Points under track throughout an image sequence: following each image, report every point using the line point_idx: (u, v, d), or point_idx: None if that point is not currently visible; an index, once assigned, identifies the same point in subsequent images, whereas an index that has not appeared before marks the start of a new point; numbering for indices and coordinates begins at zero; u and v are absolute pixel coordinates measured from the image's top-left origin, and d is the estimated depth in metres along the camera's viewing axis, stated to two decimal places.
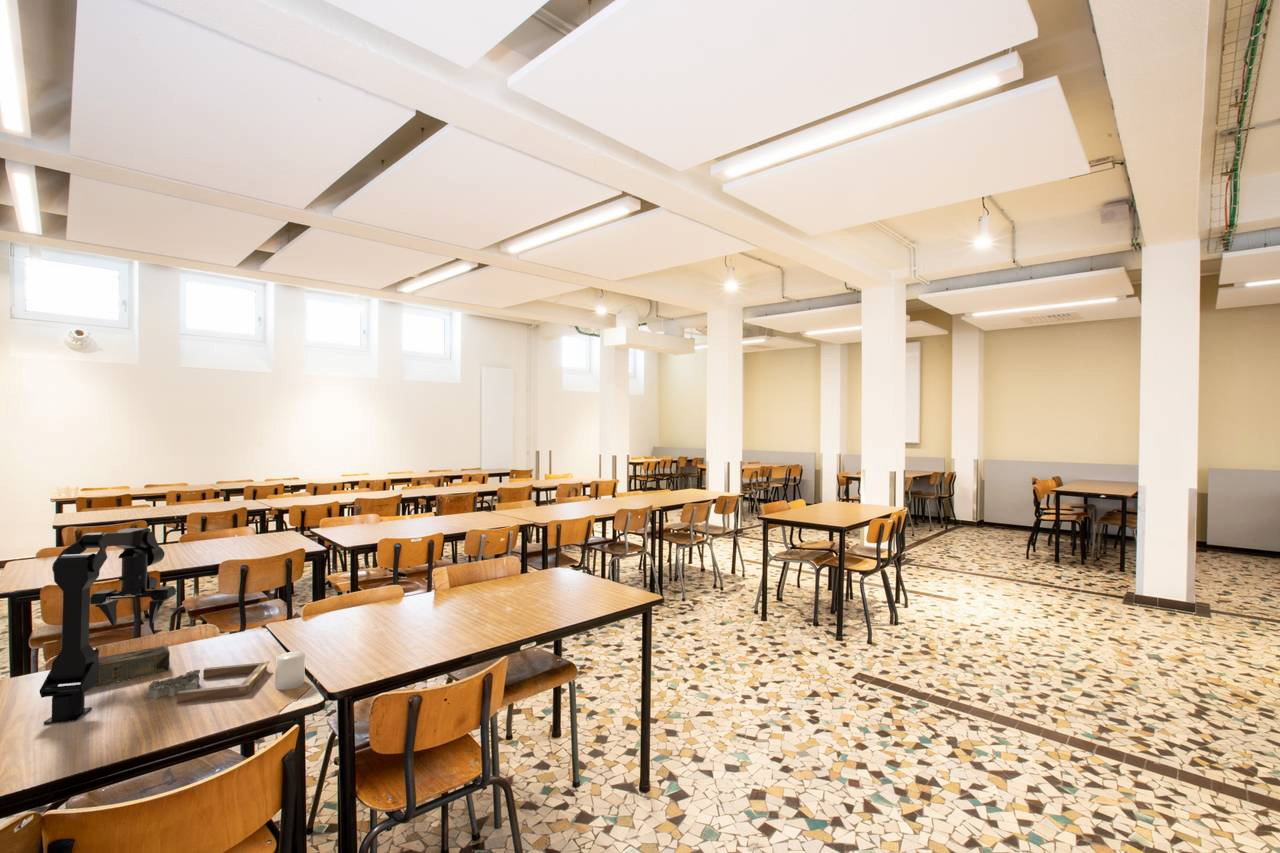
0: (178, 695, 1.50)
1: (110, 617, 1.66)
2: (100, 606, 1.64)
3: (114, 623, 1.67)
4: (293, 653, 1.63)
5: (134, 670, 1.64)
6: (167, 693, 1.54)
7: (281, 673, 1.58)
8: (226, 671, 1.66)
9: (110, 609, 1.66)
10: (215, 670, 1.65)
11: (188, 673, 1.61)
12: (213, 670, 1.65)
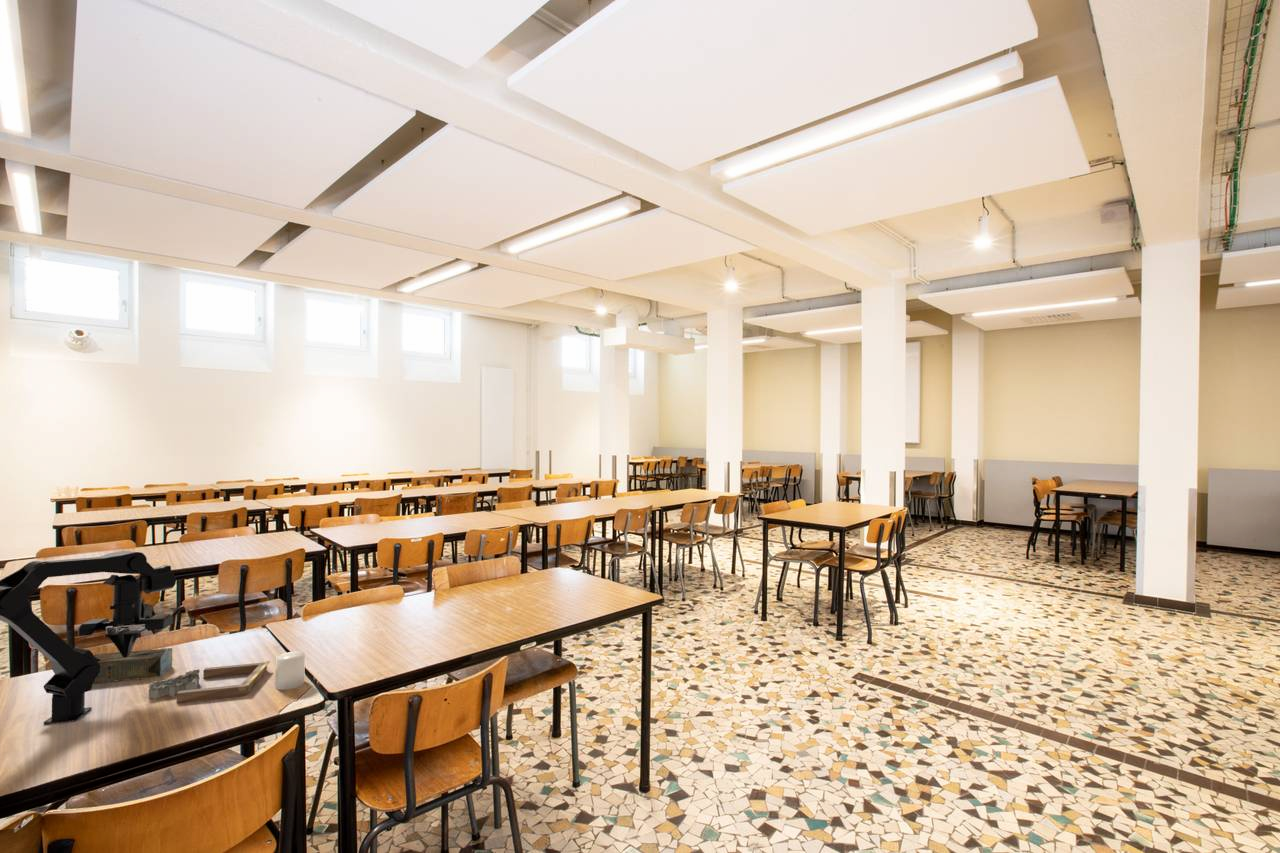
0: (178, 695, 1.50)
1: (121, 648, 1.52)
2: (110, 636, 1.50)
3: None
4: (293, 653, 1.63)
5: (126, 671, 1.63)
6: (167, 693, 1.54)
7: (281, 673, 1.58)
8: (226, 671, 1.66)
9: (121, 639, 1.52)
10: (215, 670, 1.65)
11: (188, 673, 1.61)
12: (213, 670, 1.65)
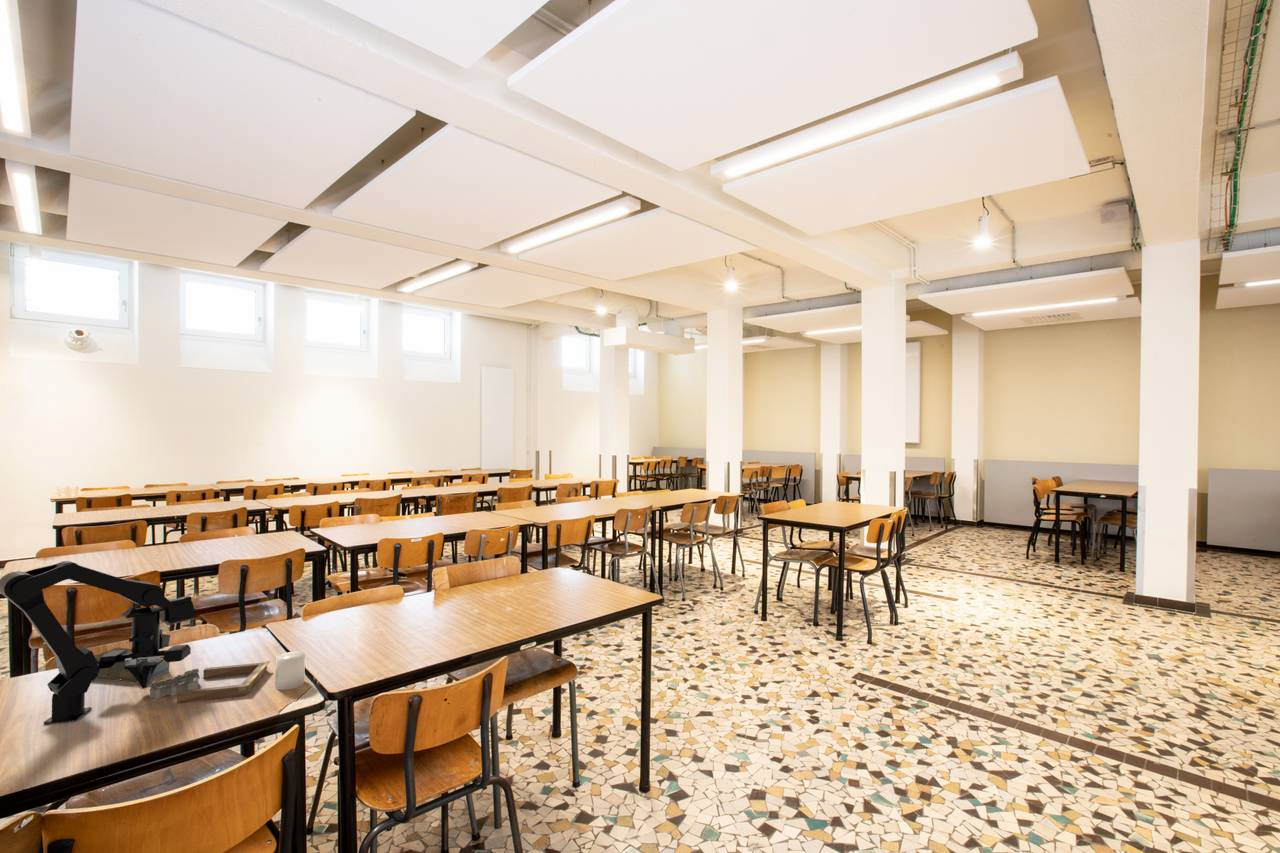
0: (178, 695, 1.50)
1: (140, 680, 1.53)
2: (129, 668, 1.52)
3: None
4: (293, 653, 1.63)
5: (119, 671, 1.63)
6: (169, 692, 1.54)
7: (281, 673, 1.58)
8: (226, 671, 1.66)
9: (140, 671, 1.53)
10: (215, 670, 1.65)
11: (187, 672, 1.61)
12: (213, 670, 1.65)
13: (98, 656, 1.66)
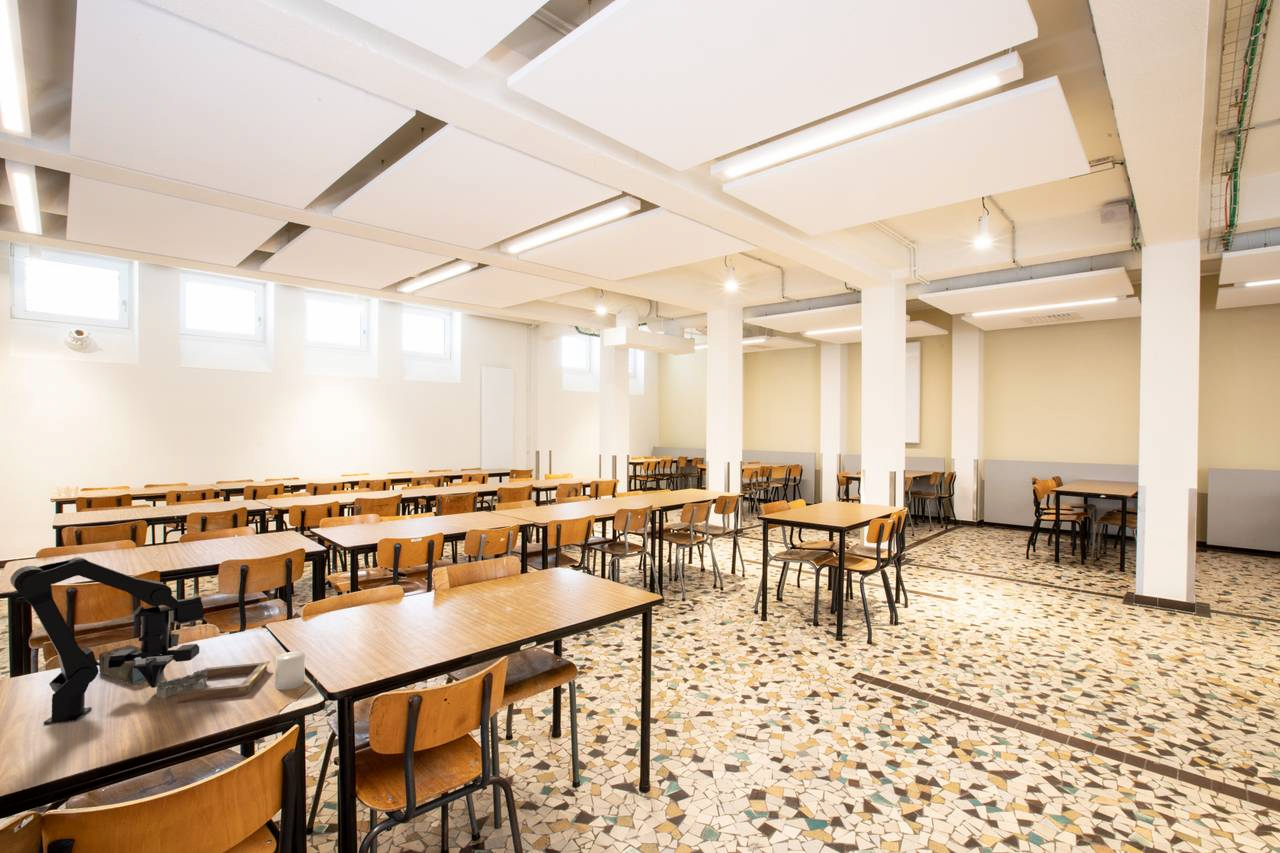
0: (178, 695, 1.50)
1: (149, 679, 1.54)
2: (139, 668, 1.52)
3: None
4: (293, 653, 1.63)
5: (117, 671, 1.63)
6: (175, 693, 1.54)
7: (281, 673, 1.58)
8: (226, 671, 1.66)
9: (149, 670, 1.54)
10: (215, 670, 1.65)
11: (195, 673, 1.61)
12: (213, 670, 1.65)
13: (106, 653, 1.68)
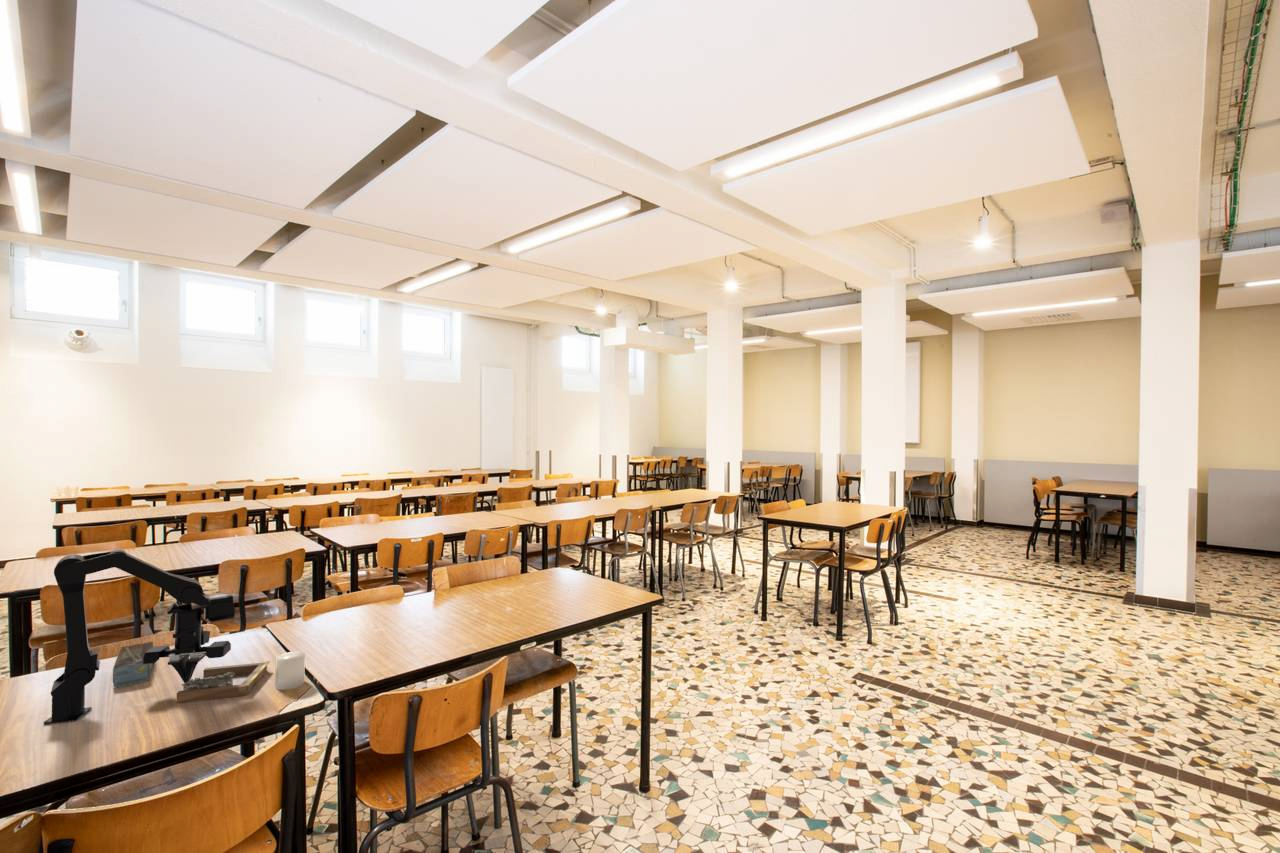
0: (178, 695, 1.50)
1: (183, 675, 1.56)
2: (173, 664, 1.54)
3: None
4: (293, 653, 1.63)
5: None
6: None
7: (281, 673, 1.58)
8: (226, 671, 1.66)
9: (183, 666, 1.56)
10: (215, 670, 1.65)
11: (224, 674, 1.60)
12: (213, 670, 1.65)
13: (123, 648, 1.72)
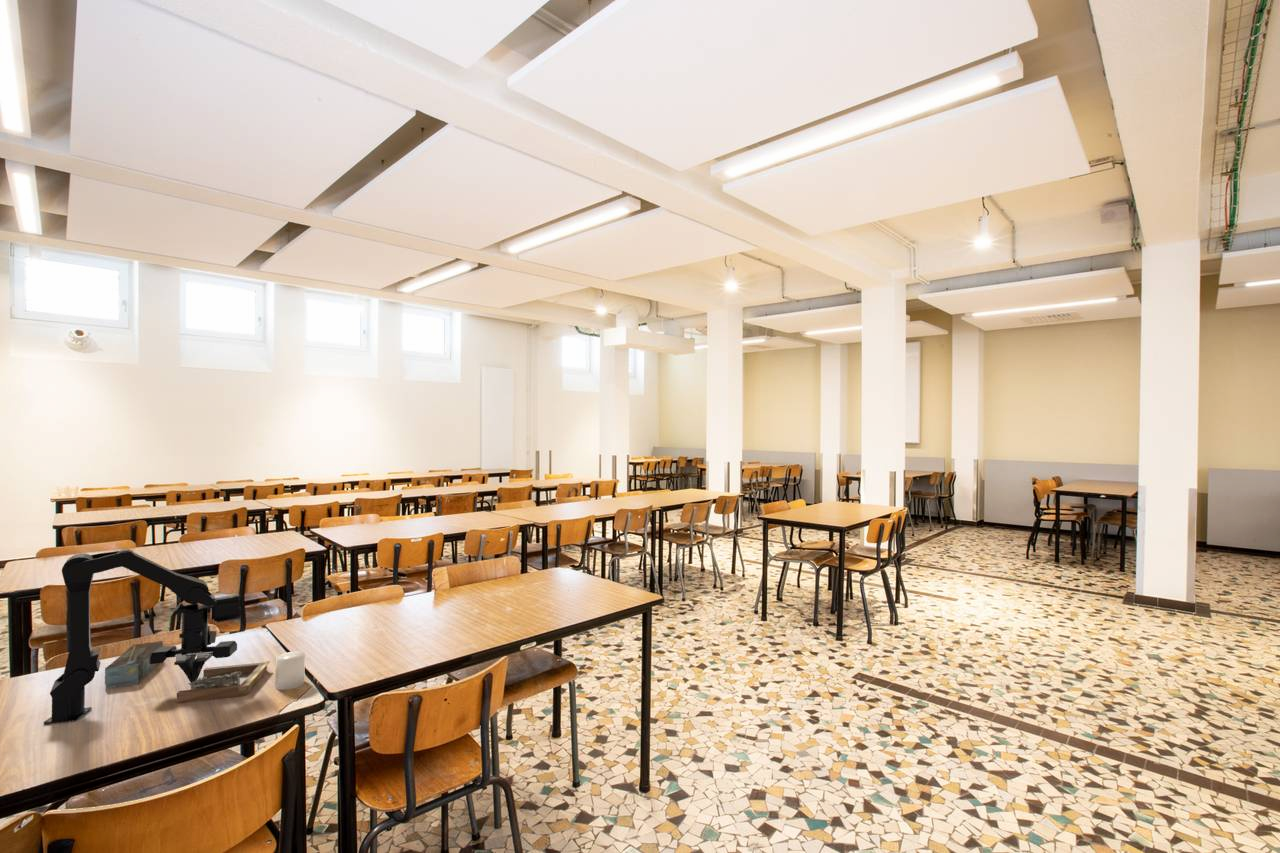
0: (178, 695, 1.50)
1: (189, 675, 1.57)
2: (179, 664, 1.55)
3: None
4: (293, 653, 1.63)
5: None
6: None
7: (281, 673, 1.58)
8: (226, 671, 1.66)
9: (189, 666, 1.57)
10: (215, 670, 1.65)
11: (232, 673, 1.60)
12: (213, 670, 1.65)
13: (132, 646, 1.74)
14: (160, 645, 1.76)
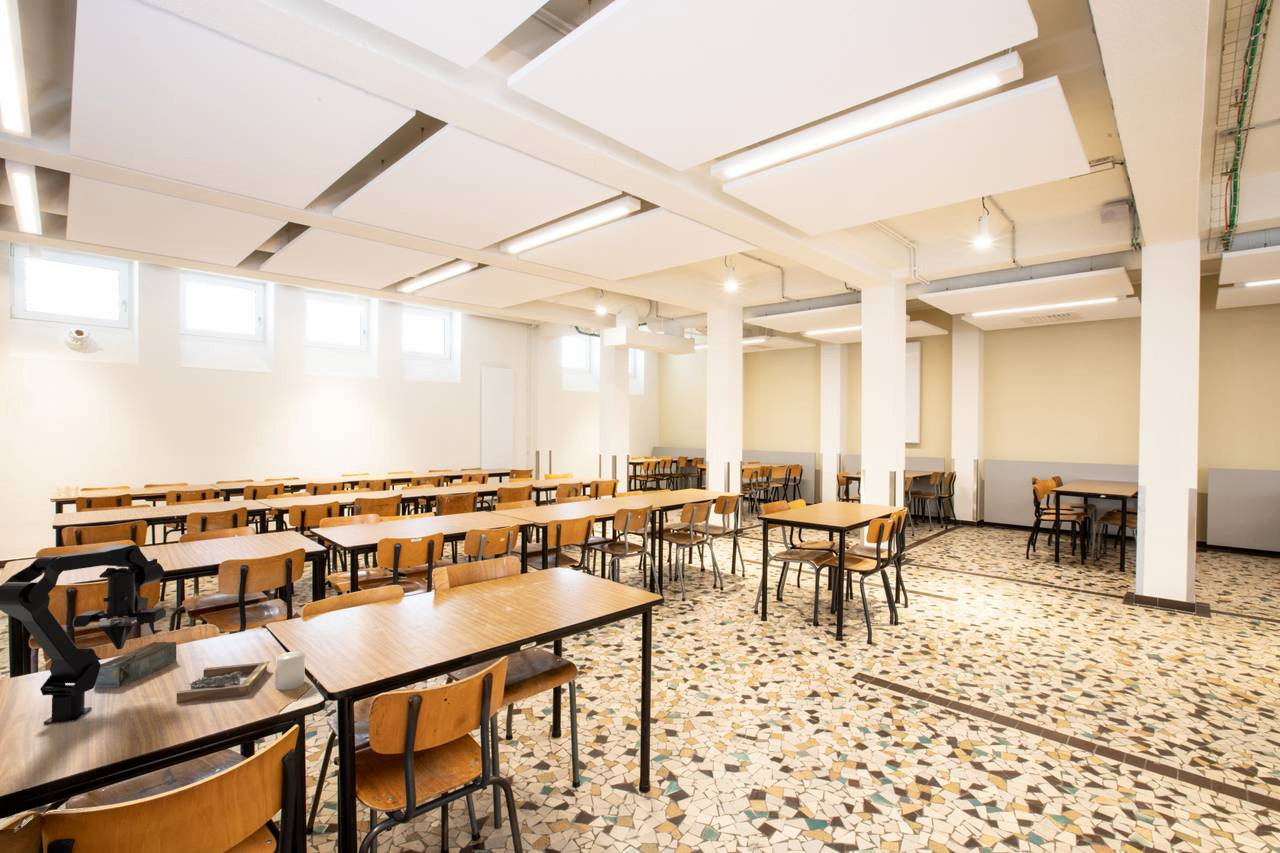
0: (178, 695, 1.50)
1: (114, 640, 1.54)
2: (103, 628, 1.52)
3: None
4: (293, 653, 1.63)
5: None
6: None
7: (281, 673, 1.58)
8: (226, 671, 1.66)
9: (114, 631, 1.54)
10: (215, 670, 1.65)
11: (232, 674, 1.60)
12: (213, 670, 1.65)
13: (150, 644, 1.75)
14: (170, 646, 1.75)
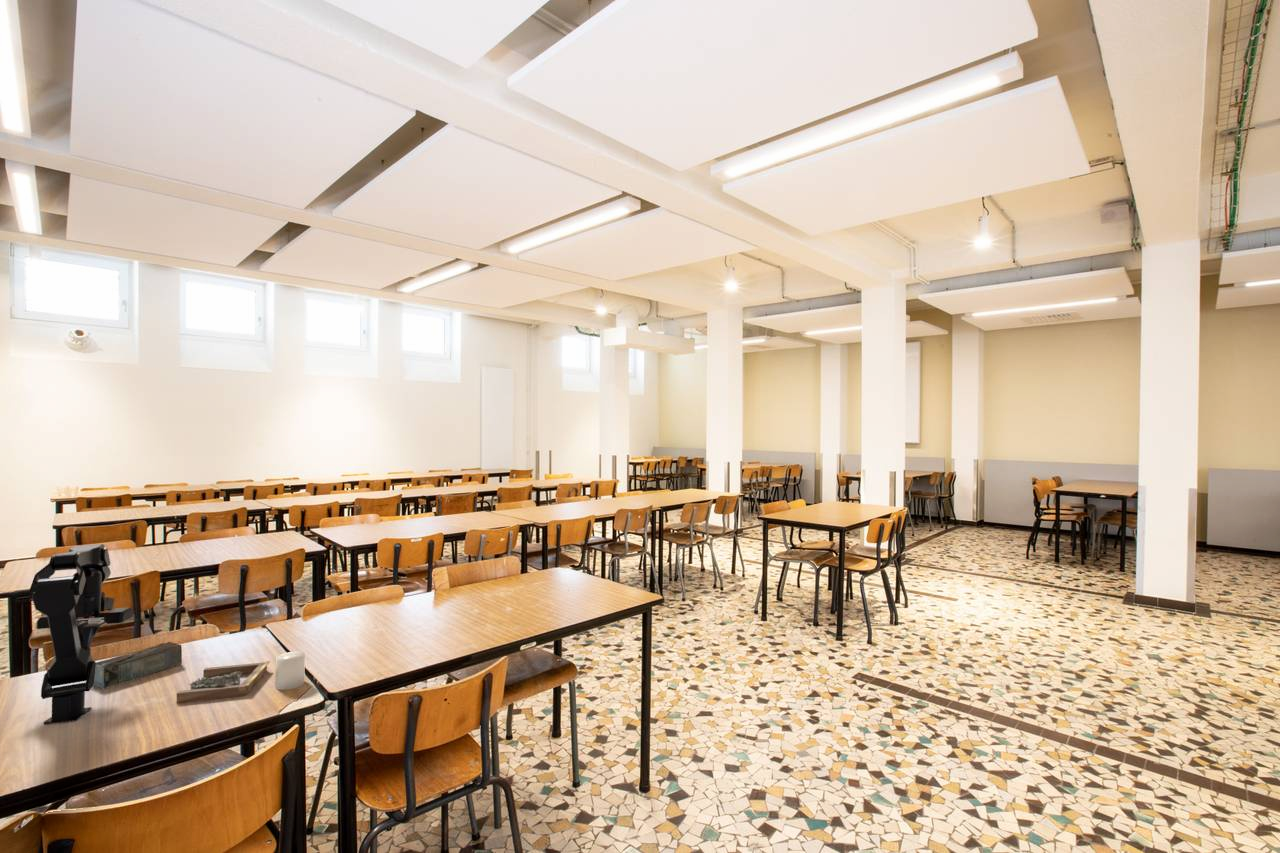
0: (178, 695, 1.50)
1: (80, 641, 1.53)
2: None
3: None
4: (293, 653, 1.63)
5: None
6: None
7: (281, 673, 1.58)
8: (226, 671, 1.66)
9: (80, 632, 1.53)
10: (215, 670, 1.65)
11: (231, 674, 1.60)
12: (213, 670, 1.65)
13: None
14: (173, 649, 1.72)
